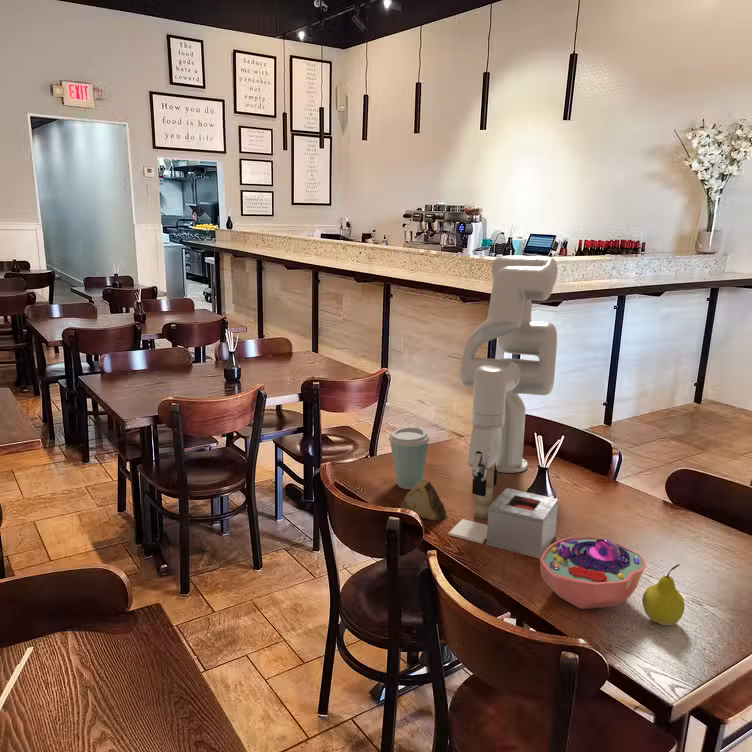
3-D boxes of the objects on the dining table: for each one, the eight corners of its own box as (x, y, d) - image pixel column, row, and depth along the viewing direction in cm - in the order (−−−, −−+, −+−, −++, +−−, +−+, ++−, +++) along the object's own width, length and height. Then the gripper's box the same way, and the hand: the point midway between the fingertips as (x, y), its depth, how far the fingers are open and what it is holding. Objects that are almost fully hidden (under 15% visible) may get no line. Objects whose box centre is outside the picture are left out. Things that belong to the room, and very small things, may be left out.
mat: (462, 521, 156) (462, 519, 156) (494, 529, 152) (494, 526, 152) (448, 535, 149) (448, 532, 149) (482, 543, 146) (482, 541, 145)
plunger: (515, 515, 149) (516, 502, 149) (536, 520, 147) (537, 507, 146) (508, 524, 145) (509, 510, 145) (530, 529, 143) (530, 515, 142)
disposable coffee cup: (413, 496, 170) (414, 441, 166) (380, 485, 176) (380, 432, 173) (435, 483, 178) (437, 430, 175) (402, 474, 184) (403, 422, 181)
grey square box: (504, 523, 155) (506, 487, 153) (555, 535, 150) (558, 498, 147) (486, 544, 145) (488, 507, 143) (540, 558, 139) (543, 519, 137)
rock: (388, 502, 161) (410, 513, 152) (404, 471, 162) (427, 480, 154) (418, 520, 166) (442, 531, 157) (434, 490, 167) (458, 499, 159)
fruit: (633, 621, 118) (640, 560, 115) (650, 605, 123) (657, 547, 120) (672, 638, 113) (680, 575, 111) (688, 621, 118) (696, 561, 115)
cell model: (518, 585, 129) (521, 532, 127) (601, 567, 136) (606, 517, 134) (571, 635, 114) (577, 576, 111) (662, 612, 121) (669, 556, 118)
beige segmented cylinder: (478, 509, 162) (481, 448, 159) (493, 513, 161) (497, 451, 157) (472, 515, 159) (475, 453, 155) (488, 519, 157) (491, 456, 153)
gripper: (486, 407, 163) (482, 474, 167) (458, 425, 148) (455, 499, 153) (515, 411, 160) (511, 480, 164) (490, 431, 145) (486, 506, 149)
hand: (484, 488), depth 158 cm, fingers open, 6 cm apart
